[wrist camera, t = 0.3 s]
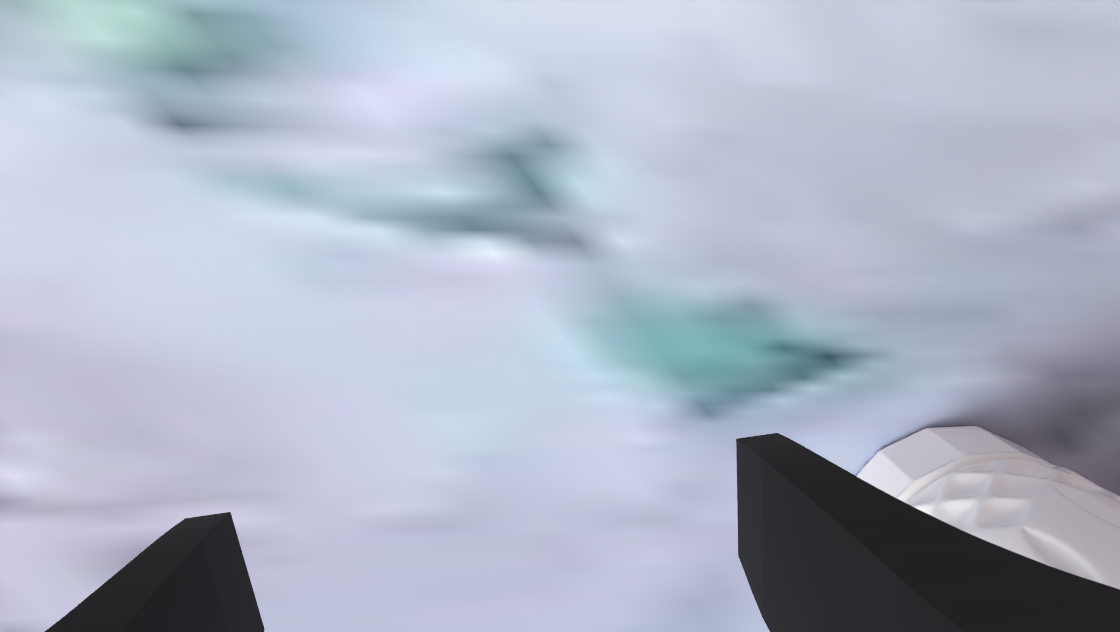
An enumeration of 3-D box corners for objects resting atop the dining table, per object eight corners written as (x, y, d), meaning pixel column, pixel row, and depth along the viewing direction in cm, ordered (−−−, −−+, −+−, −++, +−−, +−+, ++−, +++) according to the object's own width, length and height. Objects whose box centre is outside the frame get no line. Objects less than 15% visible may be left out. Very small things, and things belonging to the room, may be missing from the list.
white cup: (800, 643, 25) (995, 989, 15) (819, 409, 23) (1059, 639, 13) (1039, 627, 25) (1374, 951, 16) (1078, 398, 23) (1494, 608, 13)
